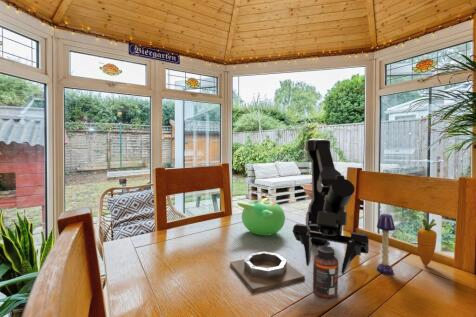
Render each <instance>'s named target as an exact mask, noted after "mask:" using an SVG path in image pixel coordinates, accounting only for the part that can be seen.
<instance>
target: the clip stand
mask: <svg viewBox="0 0 476 317" xmlns="http://www.w3.org/2000/svg"><path fill="white" fill-rule="evenodd" d="M245 259H246V258H243V259H239V260H233V261H230V263H229V265H230V267H231V268H232V269H233V270H234V272H235V273H236V274H237V276H238V277H240V280H242V281H243V282H244V285H246V286H247V287H248V289H249V291H251V292H252V294H253V293H257V292H261V291H265V290H270V289H273V288H276V287H277V288H278V287H281V286H285V285H288V284H292V283H297V282H300V281H304V280H306V278H305V277H306V276H305V275H304V274H303V273H301V272H300V271H298V270H297V269H296V268H295V267H294V266H292V265H291V264H290V263H288V262H287V266H286V271H285V273H284V275H283V276H282V277H278V278H274V279H270V280H266V279H261V278H256V277H251V275H250V274H249V273H248V272H247V271H246V270H245V269H244V260H245ZM253 265H254V266H256V267H262V268H267V269H268V268H272V267H277V266H278V265H277V264H276V263H272V262H267V261H261V262H256V263H253Z"/></svg>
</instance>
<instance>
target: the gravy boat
mask: <svg viewBox="0 0 476 317" xmlns="http://www.w3.org/2000/svg"><path fill="white" fill-rule="evenodd" d="M237 206H239V207H241V208H243V210H242V212H241V222H242V223H243V226H244V227H245V228H246V229H247V230H248V231H249V232H250V233H253V234H255V235H259V236H271V235H275V234H277V233H278V232H280V231H281V230H282V228H283V227H284V225H285V222H286V215H285V211H284V209H283V208H282V207H281V205H279V204H278V203H276V202H274V201H271V200H270V197H264V198H261V199H257V200H253V201H250V202H249V203H248V202H247V203H246V202H237Z"/></svg>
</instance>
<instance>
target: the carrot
mask: <svg viewBox="0 0 476 317" xmlns="http://www.w3.org/2000/svg"><path fill="white" fill-rule="evenodd" d="M421 219H422V223H423V224H422V225H423V227H421V228H419V229H418V230H417V239H416V240H417V244H416V245H417V252H418V255H419V258H420V260H421V262H422V264H423V266H425V267H426V266H428V265H429V264H430V263H431V261H432V259H433V257H434V255H435V254H434V253H435V251H436V247H437V246H436V244H437V232H436V230H434V229H432V228H433V227H434V226H437V222H435V221H436V219H434V218H432V219H431V221H430V223H428V221H427V219H426V218H425V217H422V218H421Z"/></svg>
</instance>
